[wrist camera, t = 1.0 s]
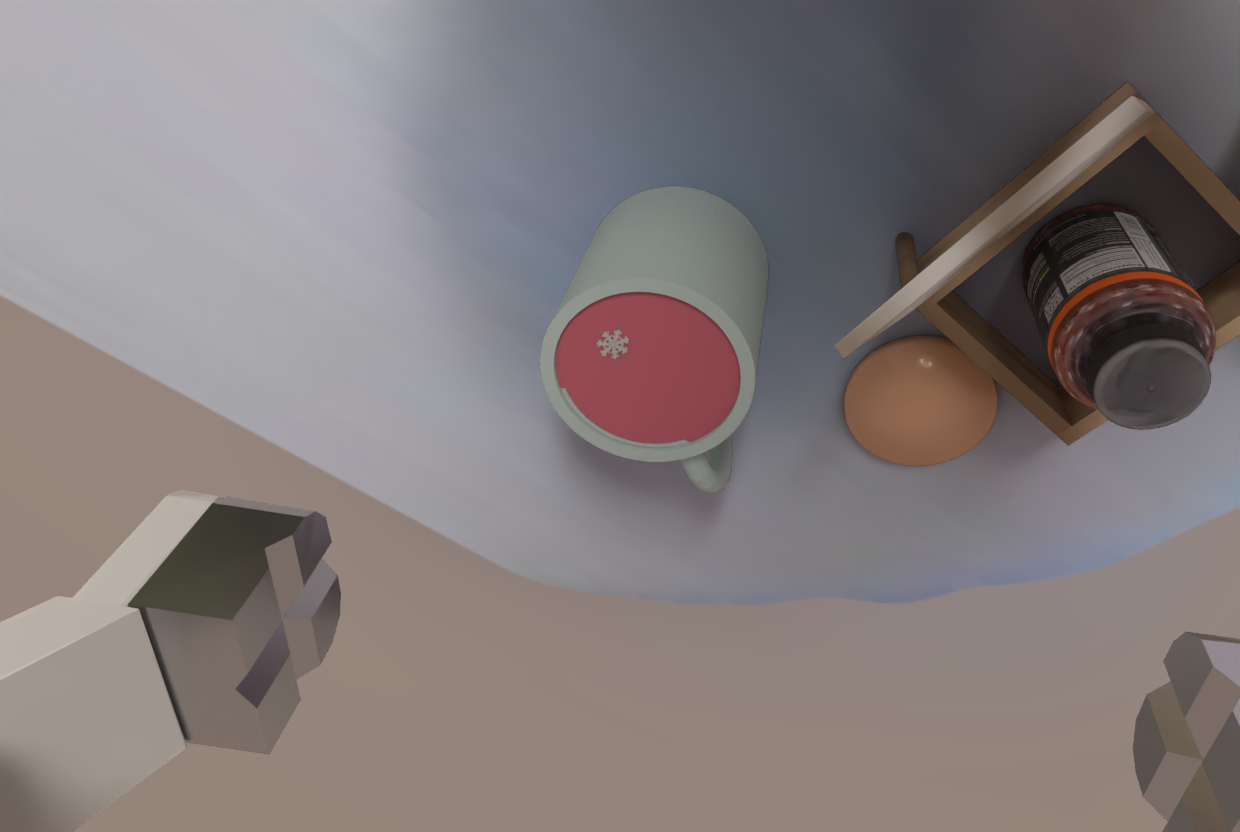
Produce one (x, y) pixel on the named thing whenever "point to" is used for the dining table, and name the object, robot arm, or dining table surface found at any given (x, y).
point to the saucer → (919, 401)
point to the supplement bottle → (1119, 317)
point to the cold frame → (1013, 210)
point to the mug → (662, 332)
